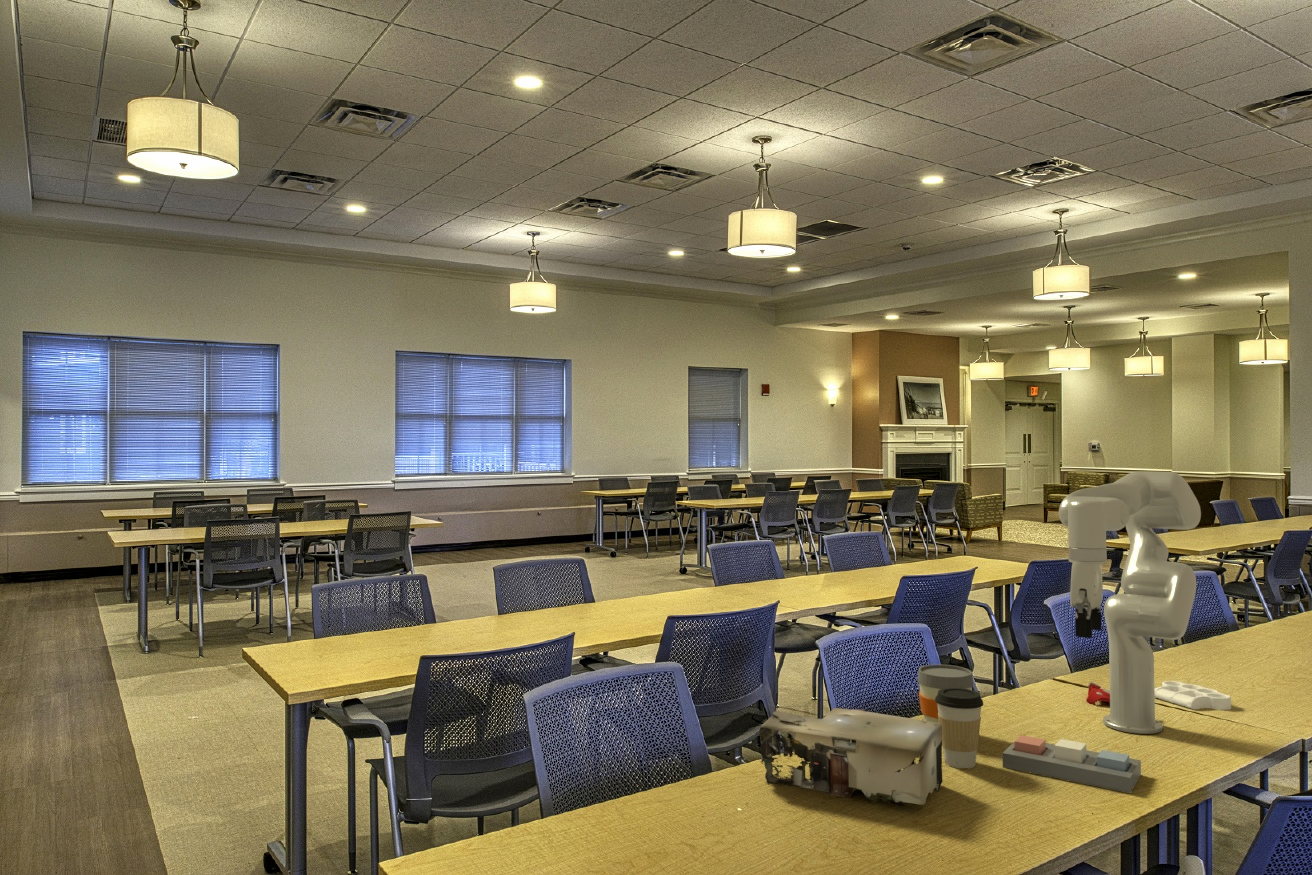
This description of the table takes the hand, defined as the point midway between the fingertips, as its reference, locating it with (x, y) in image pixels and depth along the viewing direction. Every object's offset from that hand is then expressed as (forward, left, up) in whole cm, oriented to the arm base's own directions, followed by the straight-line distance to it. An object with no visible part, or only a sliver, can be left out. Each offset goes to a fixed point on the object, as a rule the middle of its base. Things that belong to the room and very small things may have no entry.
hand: (1088, 633), depth 194 cm
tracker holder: (-46, -6, -27) cm, 53 cm away
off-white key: (+14, -1, -25) cm, 28 cm away
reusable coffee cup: (+6, -30, -26) cm, 40 cm away
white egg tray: (-59, +13, -27) cm, 66 cm away
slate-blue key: (+14, +7, -25) cm, 30 cm away
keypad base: (+14, -1, -26) cm, 30 cm away
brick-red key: (+14, -9, -26) cm, 30 cm away
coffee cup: (+23, -21, -26) cm, 41 cm away
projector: (+50, -32, -27) cm, 65 cm away
